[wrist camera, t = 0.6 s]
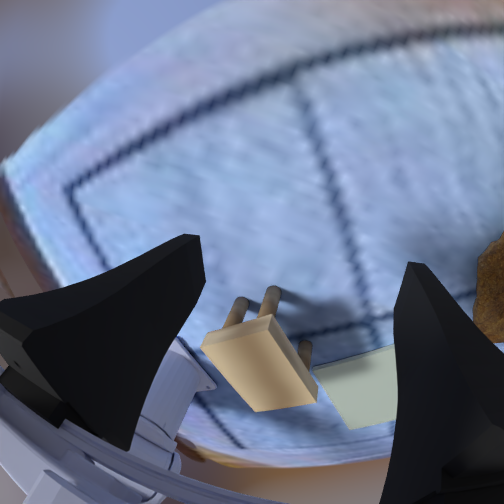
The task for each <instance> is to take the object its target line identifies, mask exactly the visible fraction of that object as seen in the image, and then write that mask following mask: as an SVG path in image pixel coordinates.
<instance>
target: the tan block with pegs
mask: <svg viewBox="0 0 504 504" xmlns="http://www.w3.org/2000/svg"><path fill="white" fill-rule="evenodd" d="M280 296H281V290H280V288H278V287H277V286H269V287H268V288H267V290H266V293H265V296H264V299H263V302H262V305H261V308H260V311H259V313H258V316H257V319H253V320H250V321H247V322H243V323H242V321H243V319H244V316H245V314H246V311H247V309H248V306H249V301H248V300H247V299H246V298H244V297H238V298H236V300H235V302H234V304H233V306H232V308H231V311H230V313H229V315H228V317H227V319H226V321H225V324H224V326H223V328H222V329H219V330H215V331H212V332H208V333H207V334H206V336H205V338H204V340H203V342H202V344H201V346H200V348H201V349H202V351H203V352H204V353H205V354H206V355H207V357H208V358H209V359H210V360H211V362H212V363H213V364H214V365H215V366H216V368H217V369H218V370H219V371H220V372H221V374H222V375H223V376H224V377H225V378H226V380H227V381H228V382H229V383H230V384H231V385H232V387H233V388H234V389H235V390H236V391H237V392H238V393H239V395H240V396H241V397H242V398H243V399H244V400H245V401H246V402H247V404H248V405H249V406H250V407H251V408H252V409H253V410H254V411H255V412H260V411H268V410H275V409H282V408H288V407H294V406H300V405H306V404H311V403H317V394H318V385H317V384H316V382H315V381H314V379H313V378H312V376H311V374H310V373H309V369H310V361H311V353H312V343H311V342H309V341H301V342H300V343H299V347H298V353H297V352H296V351H295V349H294V348H293V346H292V344H291V343H290V341H289V340H288V338H287V337H286V335H285V333H284V332H283V330H282V329H281V327H280V325H279V324H278V322H277V321H276V319H275V315H276V311H277V308H278V304H279V300H280Z"/></svg>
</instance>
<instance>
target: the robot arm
mask: <svg viewBox="0 0 504 504" xmlns="http://www.w3.org/2000/svg"><path fill="white" fill-rule="evenodd" d="M205 283H206V278H205V272H204V265H203V257H202V250H201V243H200V236H199V235H191V234H183V235H180V236H178V237H175V238H173V239H171V240H169V241H167V242H165V243H163V244H161V245H159V246H157V247H155V248H153V249H152V250H150V251H148V252H146V253H144V254H142V255H140V256H138V257H136V258H134V259H132V260H130V261H128V262H126V263H124V264H122V265H120V266H118V267H116V268H114V269H111V270H109V271H107V272H105V273H102V274H100V275H97V276H95V277H92V278H90V279H87V280H84V281H82V282H78V283H75V284H72V285H69V286H66V287H63V288H60V289H56V290H52V291H48V292H44V293H39V294H35V295H29V296H23V297H17V298H9V299H4V300H2V301H0V354H1V355H2V357H3V358H4V359H5V361H6V362H7V364H8V365H9V366H8V367H7V369H6V370H4V369H3V368H2V367H1V366H0V465H1V466H2V467H3V469H4V470H5V471H6V472H7V473H8V474H9V476H10V477H11V478H12V479H13V480H14V481H15V483H16V484H17V485H18V486H19V487H20V488H21V489H22V490H23V491H24V492H25V494H27V497H26V499H25V500H24V502H23V504H160V503H161V502H162V501H163V500H164V499H165V498H166V497H170V498H173V499H175V500H178V501H180V502H183V503H186V504H288V503H282V502H276V501H272V500H267V499H262V498H257V497H253V496H249V495H245V494H241V493H237V492H233V491H230V490H226V489H222V488H219V487H216V486H212V485H209V484H206V483H203V482H200V481H197V480H194V479H191V478H188V477H185V476H182V475H180V474H179V473H180V469H181V461H180V456H179V454H178V453H176V452H175V451H174V450H175V448H176V445H177V443H176V442H175V441H173V440H174V438H175V436H176V434H177V432H178V430H179V427H180V425H181V423H182V421H183V419H184V417H185V414H186V412H187V410H188V408H189V406H190V404H191V401H192V399H193V397H194V395H195V393H196V392H199V391H207V390H214V389H216V387H217V385H216V384H215V382H214V381H213V380H212V379H211V378H210V377H209V376H208V374H207V373H206V372H205V371H204V370H203V369H202V367H201V366H200V365H199V364H198V363H197V361H196V360H195V359H194V358H193V357H192V356H191V354H190V353H189V352H188V351H187V349H186V348H185V347H184V346H183V345H182V343H181V342H180V341H179V340H178V338H176V336H177V334H178V333H179V331H180V330H181V328H182V326H183V325H184V323H185V322H186V320H187V318H188V317H189V315H190V313H191V312H192V310H193V308H194V307H195V305H196V303H197V301H198V299H199V297H200V295H201V292H202V290H203V287H204V285H205ZM393 335H394V347H395V358H396V371H397V387H398V402H397V414H396V424H395V432H394V440H393V446H392V452H391V458H390V463H389V468H388V472H387V477H386V481H385V485H384V489H383V492H382V496H381V499H380V503H379V504H504V353H503V352H502V351H501V350H499V349H498V348H497V347H496V346H495V345H494V344H493V343H492V342H491V341H490V340H489V339H488V338H487V336H486V335H485V334H484V333H483V332H482V331H481V330H480V329H479V328H478V327H477V326H476V325H475V324H474V323H473V321H472V320H471V319H470V318H469V317H468V316H467V314H466V313H465V312H464V311H463V310H462V308H461V307H460V306H459V305H458V304H457V302H456V301H455V300H454V299H453V297H452V296H451V295H450V294H449V292H448V291H447V290H446V289H445V287H444V286H443V285H442V284H441V282H440V281H439V280H438V279H437V277H436V276H435V275H434V274H433V272H432V271H431V270H430V269H429V268H428V267H427V266H426V265H425V264H423V263H416V262H408V263H407V267H406V271H405V274H404V277H403V281H402V284H401V287H400V291H399V294H398V297H397V300H396V303H395V306H394V326H393Z"/></svg>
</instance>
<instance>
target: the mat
mask: <svg viewBox="0 0 504 504" xmlns="http://www.w3.org/2000/svg"><path fill="white" fill-rule="evenodd" d="M312 371H313V373H314V374H315V376H316V377H317V379H318V381H319V382H320V384H321V385H322V387H323V389H324V390H325V392H326V393H327V395H328V397H329V398H330V400H331V401H332V403H333V405H334V406H335V408H336V409H337V411H338V413H339V414H340V416H341V417H342V419H343V420H344V422H345V424H346V425H347V427H348V428H349V430H352V429H357V428H362V427H367V426H371V425H376V424H380V423H384V422H388V421H392V420H396V414H397V402H398V387H397V371H396V358H395V347H394V344H392V345H389V346H386V347H383V348H380V349H376V350H373V351H370V352H367V353H363V354H360V355H356V356H353V357H349V358H346V359H342V360H338V361H335V362H331V363H327V364H323V365H319V366H315V367H313V370H312Z"/></svg>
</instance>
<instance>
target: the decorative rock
mask: <svg viewBox="0 0 504 504" xmlns="http://www.w3.org/2000/svg"><path fill="white" fill-rule="evenodd" d="M476 291H477V298H476V299H475V302H474V306H473V323H474V324H475V325H476V326H477V327H478V328H479V329H480V330H481V331H482V332H483V333H484V334H485V335H486V336H487V338H488V339H489V340H490V341H491V342H492V343H502V342H504V232H503V234H502V235H501V237H500V239H498V240H497V241H494V242H491V243H490V245H489V246H488V248H487V249H486V250H485V252H484V253H482V254H481V255H480V256H479V257H478V266H477V288H476Z"/></svg>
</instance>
